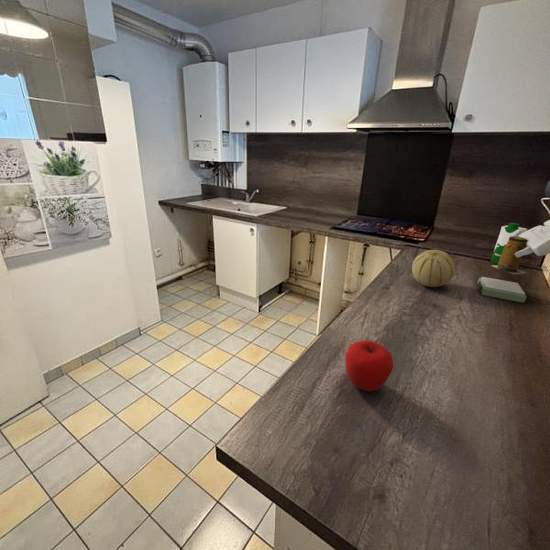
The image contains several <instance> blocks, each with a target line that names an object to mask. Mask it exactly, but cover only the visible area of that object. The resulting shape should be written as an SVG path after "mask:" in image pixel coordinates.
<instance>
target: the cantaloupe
mask: <svg viewBox="0 0 550 550" xmlns="http://www.w3.org/2000/svg"><path fill="white" fill-rule="evenodd" d="M411 265H412V266H411V272H412V275H413V277H414V279H415V280H416V281H417V282H418V283H419V284H421V285H422V286H425V287H427V288H428V287H429V288H438V287H442V286H444V285H446V284H448V283H449V282H450V281H451V280H452V279H453V277H454V275H455V271H456V265H455V262H454V259H452V257H451V255H449V254H448V253H447V252H445V251H443V250H440V249H428V250H424V251H423V252H421V253H419V254H418V255H417V256H416V257H415V259H414V260H413V262H412V264H411Z"/></svg>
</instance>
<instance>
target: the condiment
mask: <svg viewBox="0 0 550 550" xmlns="http://www.w3.org/2000/svg"><path fill="white" fill-rule="evenodd" d="M526 242H527V239H525V238H522V237H516V236H511V237H509V240H508V243H506V244H505V247H504V249H503V252H502V255H501V258H500V260H499V263H498V264H495V265H492V267H493V268H495V269H498V270H500V271H504V272H506V273H509V274H512V275H522V274H528V272H526V271H524V270H522V269H519V267H520V264H521V262H522V259H523V256H524V255H523V256H521V257H518V258H517V257H516V256H515V254H514V252H517V251H518V250H519V251H520V250H523V249H525V248H526V247H527V246H526Z"/></svg>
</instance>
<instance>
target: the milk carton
mask: <svg viewBox="0 0 550 550" xmlns="http://www.w3.org/2000/svg"><path fill="white" fill-rule="evenodd" d="M527 230H528V228H525V227H521V226H520V223H516V222H509V223H508V224H507V225H502V226H501V229H500V232H499V235H498V237H497V240H496V244H495V246H494V249H493V252H492V256H491V259H490V263H493V264H496V265H498V263H499V260H500V258H501V255H502V252H503V249H504V247H505V244H506V243H508V240H509V237H511V236H516V237H518V236H519V235H520V234H521V233H523V232H525V231H527Z"/></svg>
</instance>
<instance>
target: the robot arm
mask: <svg viewBox="0 0 550 550" xmlns="http://www.w3.org/2000/svg"><path fill="white" fill-rule="evenodd" d="M544 196H545V197H546V198H548V199H549V200H550V180H549V181H547V184H546V186H545V190H544ZM518 237H522V238H525V239H527V242H526V248H525V249H523V250H520V251H519V250H518V251H517V252H514V254H515V256H516V257H517V258H518V257H521V256H527V255H530V254H533V253H534V254H535V255H536V256H537V257H543V256H547V255H548V254H550V219H549V220H548V219H547V220H546V221H544V222H543V225H537V226H534V227H532V228H530V229H527V231H525V232H523V233H521V234H520V235H519V236H518Z"/></svg>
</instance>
